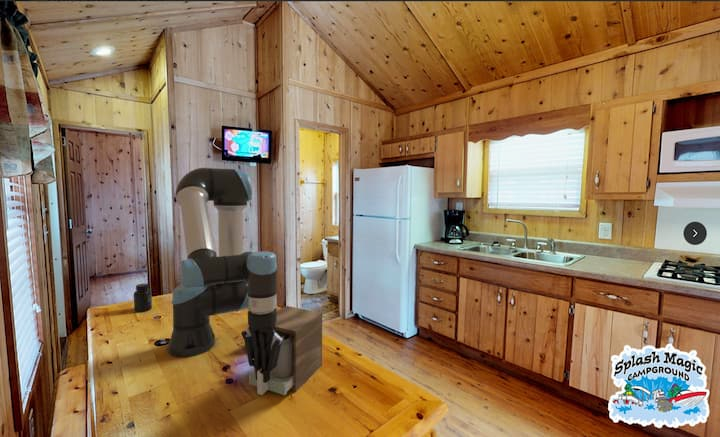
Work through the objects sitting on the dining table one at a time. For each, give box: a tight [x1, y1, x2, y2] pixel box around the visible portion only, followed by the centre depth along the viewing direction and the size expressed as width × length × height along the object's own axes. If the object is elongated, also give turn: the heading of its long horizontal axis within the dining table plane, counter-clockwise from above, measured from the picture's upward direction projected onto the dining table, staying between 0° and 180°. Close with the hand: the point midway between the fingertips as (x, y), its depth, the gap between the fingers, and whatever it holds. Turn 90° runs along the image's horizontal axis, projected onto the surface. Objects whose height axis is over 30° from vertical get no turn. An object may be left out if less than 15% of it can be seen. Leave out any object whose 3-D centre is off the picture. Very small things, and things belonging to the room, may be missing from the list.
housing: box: [275, 305, 323, 392], centre depth 99 cm, size 14×15×18 cm
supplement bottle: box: [133, 283, 153, 313], centre depth 147 cm, size 7×7×12 cm
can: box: [270, 331, 294, 378], centre depth 95 cm, size 8×8×12 cm
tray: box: [248, 371, 294, 396], centre depth 97 cm, size 12×18×3 cm
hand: (262, 391), depth 88 cm, fingers closed
